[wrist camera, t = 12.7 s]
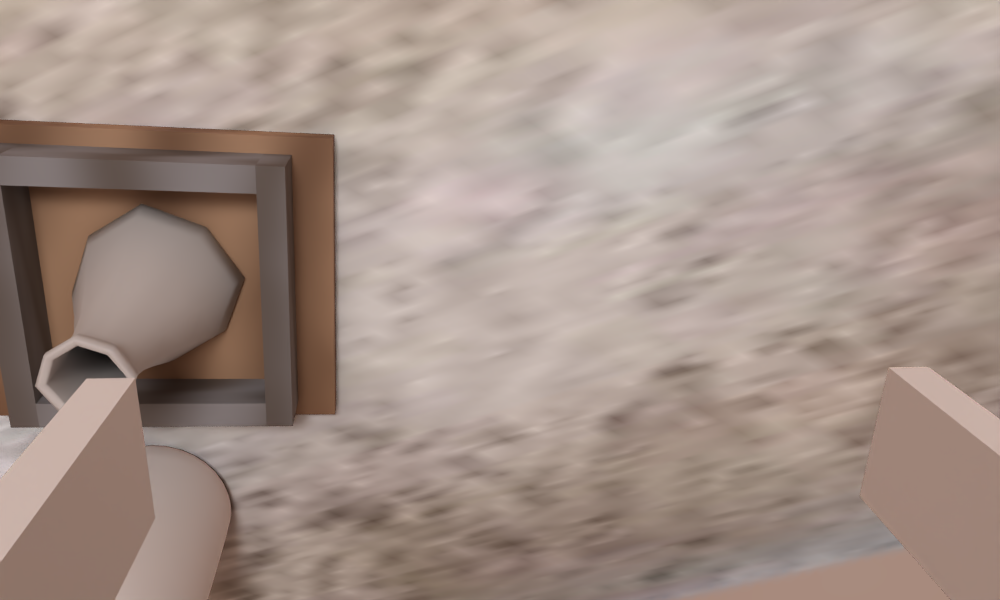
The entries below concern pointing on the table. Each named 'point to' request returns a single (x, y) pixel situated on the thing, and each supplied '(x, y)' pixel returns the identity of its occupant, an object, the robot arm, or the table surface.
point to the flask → (141, 300)
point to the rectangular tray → (197, 198)
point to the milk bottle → (180, 530)
